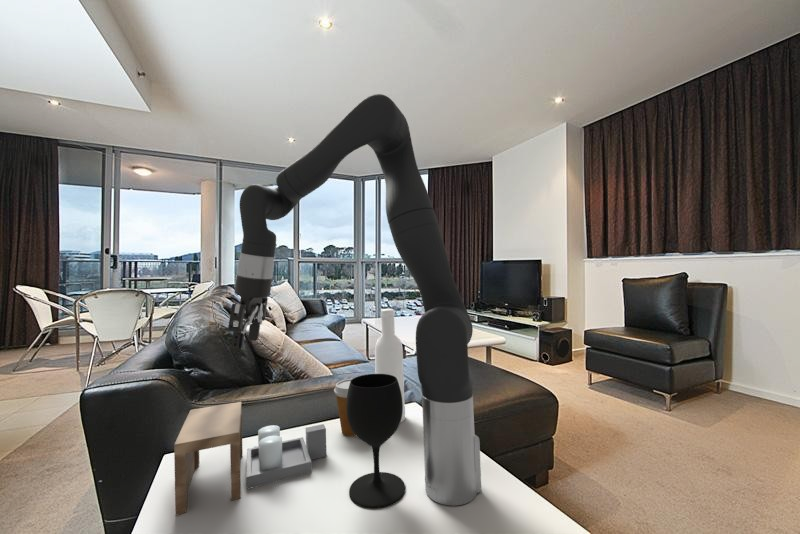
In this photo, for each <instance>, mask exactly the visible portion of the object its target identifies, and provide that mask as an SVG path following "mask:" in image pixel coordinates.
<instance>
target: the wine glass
mask: <svg viewBox="0 0 800 534" xmlns="http://www.w3.org/2000/svg"><path fill="white" fill-rule="evenodd" d="M351 379H352V380H351V381H350V385H349V389H348V393H347V400H346V413H347V419H348V423H349V425H350V427H351V429H352V431H353V432H354V433H355V435H356V436H355V437H357V438H358V439H359V440H361V442H363V443H365V444H366V445H368V446H370V447H371V450H372V456H373V472H371V473H366V474H363V475H362V476H359V477H358V478H356V479H355V480H354V481H353V482H352V483H351V485H350V486H349V489H348V495H349V499H350V501H352V502H353V503H354V504H355V505H356V506H358V507H361V508H365V509H371V510H372V509H373V510H375V509H383V508H387V507H390V506H392V505H394V504H396V503H397V502H399V501H400V500H401V499H402V498H403V496H404V495H405V494H406V484H405V482H404V481H403V479H402V478H401V477H400V476H398V475H396V474H393V473H391V472H384V471H380V449H381V446H383V444H385V443H386V442H388V441H389V439H390V438H391V437H393V436H394V435H395V433H396V432H397V430H398V429H399V426H400V424H401V423H400V421H401V418H402V412H403V402H402V395H401V390H400V386H399V383H398V380H397V378H396V377H395V376H392V375H388V374H375V373H369V374H363V375H359V376H358V375H357V377H354V378H351Z"/></svg>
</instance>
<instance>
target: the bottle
mask: <svg viewBox="0 0 800 534" xmlns="http://www.w3.org/2000/svg"><path fill="white" fill-rule="evenodd" d="M395 315H396V314H395V310H394V309H393V308H384V309H380V320H381V322H380V325H381V326H380V328H381V335H380V337H378V338H377V340H376V343H375V346H374V370H375V371H374V374H388V375H392V376H395V377H396V378H397V380H398V383H399V386H400V390H401V395H402V402H403V412H402V418H401V421H400V424H401V423H403V422H404V421H405V419H406V406H405V377H404V375H405V373H404V354H403V353H404V351H403V348H404V347H403V344H402V341H401V338H399V337H398V336H397V334H395V328H396V327H395Z"/></svg>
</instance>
